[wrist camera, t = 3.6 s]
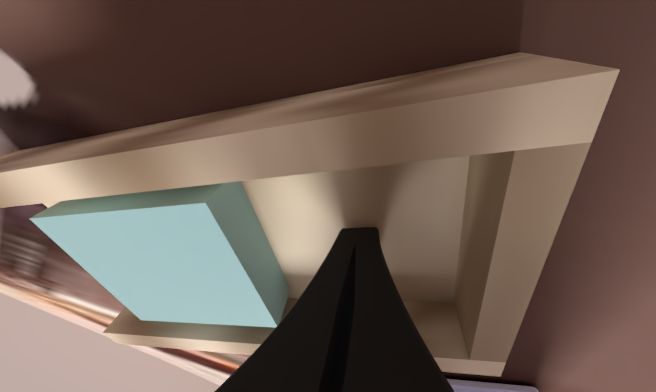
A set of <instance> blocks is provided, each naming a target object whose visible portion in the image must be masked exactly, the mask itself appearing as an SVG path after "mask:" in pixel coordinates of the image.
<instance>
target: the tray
mask: <svg viewBox="0 0 656 392" xmlns="http://www.w3.org/2000/svg"><path fill="white" fill-rule="evenodd" d="M619 71H620V69H615V68H610V67H604V66H598V65H592V64H586V63H581V62H575V61H569V60H563V59H557V58H552V57H546V56H540V55H534V54H529V53H523V52H519V53H514V54H509V55H503V56H498V57H493V58H488V59H483V60H478V61H473V62H468V63H463V64H457V65H452V66H447V67H442V68H437V69H432V70H427V71H422V72H417V73H412V74H406V75H401V76H396V77H391V78H386V79H381V80H376V81H371V82H366V83H360V84H355V85H350V86H345V87H340V88H335V89H330V90H325V91H320V92H315V93H309V94H304V95H299V96H294V97H289V98H284V99H279V100H274V101H269V102H263V103H258V104H253V105H248V106H243V107H238V108H233V109H228V110H223V111H218V112H212V113H207V114H202V115H197V116H192V117H187V118H182V119H177V120H172V121H167V122H161V123H156V124H151V125H146V126H141V127H136V128H131V129H126V130H121V131H115V132H110V133H105V134H100V135H95V136H90V137H85V138H80V139H75V140H70V141H64V142H59V143H54V144H49V145H44V146H39V147H34V148H29V149H24V150H19V151H16V152H13V153H10V154H7V155H4V156H1V157H0V208H3V207H12V206H21V205H30V204H39V203H43V204H44V205H45V206H46V207H47V208H49V207H51V206H53V205H55V204H56V203H58V202H60V201H66V200H75V199H84V198H93V197H102V196H111V195H120V194H129V193H138V192H147V191H156V190H165V189H174V188H183V187H192V186H201V185H210V184H219V183H228V182H237V181H241V183H242V185H243V187H244V189H245V191H246V193H247V196H248V198H249V200H250V202H251V204H252V206H253V209H254V211H255V213H256V215H257V217H258V220H259V222H260V224H261V226H262V228H263V230H264V233H265V235H266V237H267V239H268V241H269V243H270V246H271V248H272V250H273V252H274V254H275V256H276V259H277V261H278V263H279V265H280V267H281V270H282V272H283V274H284V276H285V278H286V280H287V283H288V285H289V287H290V293H289V296H288V299H287V302H286V305H285V308H284V311H283V314H282V317H281V320H280V322H281V321H282V319H283V318H284V317H285V316H286V315H287V313H288V312H289V311H290V309H291V308H292V307H293V306H294V304H295V303H296V302H297V300H298V299H299V297H300V296H301V295H302V293H303V292H304V290H305V289H306V287H307V286H308V284H309V283H310V282H311V280H312V279H313V277H314V276H315V274H316V272H317V271H318V269H319V268H320V266H321V264H322V263H323V261H324V259H325V258H326V256H327V254H328V253H329V251H330V249H331V247H332V245H333V244H334V242H335V240H336V238H337V236H338V234H339V232H340V230H341V229H342V228H362V227H376V228H377V229H379V237H380V244H381V248H382V252H383V255H384V258H385V261H386V264H387V266H388V269H389V271H390V274H391V277H392V279H393V281H394V284H395V286H396V288H397V290H398V292H399V295H400V297H401V299H402V301H403V303H404V305H405V307H406V309H407V311H408V313H409V315H410V317H411V319H412V321H413V323H414V324H415V326H416V328H417V330H418V332H419V334H420V335H421V337H422V339H423V341H424V342H425V344H426V346H427V348H428V349H429V351H430V353H431V355H432V356H433V358H434V360H435V361H436V363H437V364H438V366H439V368H440V369H441V371H442V372H452V373H463V374H475V375H486V376H498V377H501V374H502V372H503V369H504V367H505V364H506V361H507V359H508V356H509V354H510V351H511V349H512V346H513V343H514V341H515V338H516V336H517V333H518V331H519V328H520V325H521V323H522V320H523V318H524V315H525V313H526V310H527V307H528V305H529V302H530V300H531V297H532V295H533V292H534V289H535V287H536V284H537V282H538V279H539V277H540V274H541V271H542V269H543V266H544V264H545V261H546V259H547V256H548V253H549V251H550V248H551V246H552V243H553V241H554V238H555V235H556V233H557V230H558V228H559V225H560V223H561V220H562V217H563V215H564V212H565V210H566V207H567V205H568V202H569V199H570V197H571V194H572V192H573V189H574V187H575V184H576V181H577V179H578V176H579V174H580V171H581V168H582V166H583V163H584V161H585V158H586V156H587V153H588V150H589V148H590V145H591V143H592V140H593V138H594V135H595V132H596V130H597V127H598V125H599V122H600V120H601V117H602V114H603V112H604V109H605V107H606V104H607V102H608V99H609V96H610V94H611V91H612V89H613V86H614V84H615V81H616V78H617V76H618V73H619ZM274 329H275V328H274V327H256V326H238V325H219V324H201V323H182V322H164V321H146V320H140V319H139V318H138V317H137V316H136V315H135V314H133V313H132V312H131V311H130V310H129V309H128V308H127V307H125V308H124V310H123V311H122V312H121V313H120V314H119V315H118V316H117V317H116V318H115V320H114V321H113V322H112V323H111V324H110V325H109V326H108V327H107V329H106V330H105V331H104V332H103V333H104V334H105V335H106V336H108V337H109V338H110V339H112V340H113V341H114V342H116V343H119V344H130V345H141V346H153V347H164V348H176V349H187V350H199V351H210V352H222V353H233V354H245V355H252V354H253V353H254V352H255V350H256V349H257V348H258V347H259V346H260V345H261V344H262V343H263V342H264V340H265V339H266V338H267V337H268V336H269V335H270V334H271V332H272V331H273V330H274Z"/></svg>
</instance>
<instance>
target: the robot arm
mask: <svg viewBox="0 0 656 392" xmlns="http://www.w3.org/2000/svg"><path fill="white" fill-rule="evenodd" d="M215 392H539V391H538V389H537V388H535V387H531V386H521V385H510V384H500V383H489V382H478V381H467V380H457V379H446V377H445V376H444V374H443V372H442V371H441V369H440V368H439V366H438V364H437V363H436V361H435V360H434V358H433V356H432V355H431V353H430V351H429V349H428V348H427V346H426V344H425V342H424V341H423V339H422V337H421V335H420V334H419V332H418V330H417V328H416V326H415V324H414V323H413V321H412V319H411V317H410V315H409V313H408V311H407V309H406V307H405V305H404V303H403V301H402V299H401V297H400V295H399V292H398V290H397V288H396V286H395V284H394V281H393V279H392V277H391V274H390V271H389V269H388V266H387V264H386V261H385V258H384V255H383V252H382V248H381V244H380V237H379V229H377V228H376V227H362V228H342V229H341V230H340V232H339V234H338V236H337V238H336V240H335V242H334V244H333V245H332V247H331V249H330V251H329V253H328V254H327V256H326V258H325V259H324V261H323V263H322V264H321V266H320V268H319V269H318V271H317V272H316V274H315V276H314V277H313V279H312V280H311V282H310V283H309V284H308V286H307V287H306V289H305V290H304V292H303V293H302V295H301V296H300V297H299V299H298V300H297V302H296V303H295V304H294V306H293V307H292V308H291V309H290V311H289V312H288V313H287V315H286V316H285V317H284V318H283V319H282V321H281V322H280V323H279V324H278V326H277V327H276V328H275V329H274V330H273V331H272V332H271V334H270V335H269V336H268V337H267V338H266V339H265V340H264V342H263V343H262V344H261V345H260V346H259V347H258V348H257V349H256V350H255V352H254V353H253V354H252V355H251V356H250V357H249V358H248V359H247V360H246V361H245V362H244V363H243V364H242V365H241V366H240V367H239V368H238V369H237V370H236V371H235V372H234V373H233V374H232V375H231V376H230V377H229V378H228V379H227V380H226V381H225V382H224V383H223V384H222V385H221V386H220V387H219V388H218V389H217V390H216V391H215Z"/></svg>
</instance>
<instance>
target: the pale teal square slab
mask: <svg viewBox="0 0 656 392" xmlns="http://www.w3.org/2000/svg"><path fill="white" fill-rule="evenodd" d="M29 219H30V220H31V221H32V222H33V223H34V224H36V225H37V226H38V227H39V228H40V229H41V230H42V231H43V232H44V233H45V234H47V235H48V236H49V237H50V238H51V239H52V240H53V241H54V242H55V243H56V244H58V245H59V246H60V247H61V248H62V249H63V250H64V251H65V252H66V253H67V254H69V255H70V256H71V257H72V258H73V259H74V260H75V261H76V262H77V263H78V264H80V265H81V266H82V267H83V268H84V269H85V270H86V271H87V272H88V273H89V274H91V275H92V276H93V277H94V278H95V279H96V280H97V281H98V282H99V283H100V284H102V285H103V286H104V287H105V288H106V289H107V290H108V291H109V292H110V293H111V294H113V295H114V296H115V297H116V298H117V299H118V300H119V301H120V302H121V303H122V304H124V305H125V306H126V307H127V308H128V309H129V310H130V311H131V312H132V313H133V314H135V315H136V316H137V317H138V318H139V319H140V320H146V321H164V322H182V323H201V324H219V325H238V326H256V327H274V328H276V327H277V326H278V324H279V323H280V320H281V317H282V314H283V311H284V308H285V305H286V302H287V299H288V296H289V293H290V287H289V285H288V283H287V280H286V278H285V276H284V274H283V272H282V270H281V267H280V265H279V263H278V261H277V259H276V256H275V254H274V252H273V250H272V248H271V246H270V243H269V241H268V239H267V237H266V235H265V233H264V230H263V228H262V226H261V224H260V222H259V220H258V217H257V215H256V213H255V211H254V209H253V206H252V204H251V202H250V200H249V198H248V196H247V193H246V191H245V189H244V187H243V185H242V183H241V181H237V182H228V183H219V184H210V185H201V186H192V187H183V188H174V189H165V190H156V191H147V192H138V193H129V194H120V195H111V196H102V197H93V198H84V199H75V200H66V201H60V202H58V203H56V204H55V205H53V206H51V207H49V208H47V209H46V210H44V211H42V212H40V213H38V214H37V215H35V216H33V217H31V218H29Z"/></svg>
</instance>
